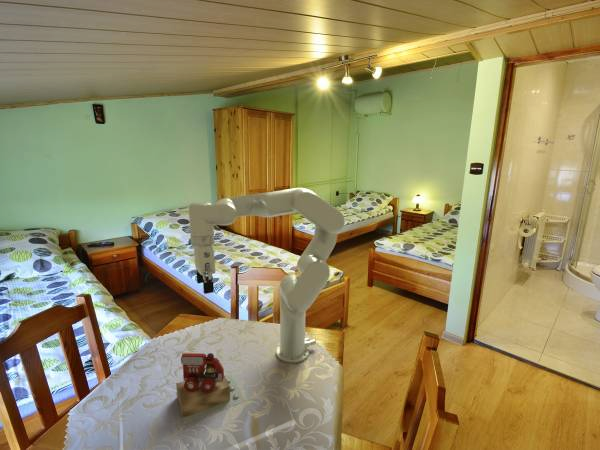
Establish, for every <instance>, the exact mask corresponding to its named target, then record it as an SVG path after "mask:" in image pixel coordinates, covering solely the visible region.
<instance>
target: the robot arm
mask: <svg viewBox="0 0 600 450" xmlns="http://www.w3.org/2000/svg"><path fill="white" fill-rule="evenodd" d="M296 213H298V214H299V215H300V216H302V217H303V218H305V219H306V220H307V221H309V222H310V223H312V225H314V226H315V229H314V235H313V236H312V239H311V240H310V242H309V244H307V246H306V248H305V250H304V251H303V252H302V254H301V255H300V257H299V258H298V260H297V263H296V268H297V270H298V272H299V274H300V275H297V274H293V273H290V274H287V275H285V276H284V277H283V278H281V280H280V282H279V286H278V294H279V295H278V296H279V309H280V310H279V311H280V312H279V316H280V317H279V326H280V327H279V329H280V330H279V331H280V332H279V336H280V338H279V339H280V340H279V346H277V348H276V350H275V353H276V354H275V355H276V357H277V358H278V359H279V360H280V361H282V362H284V363H288V364H297V363H301V362H303V361H305V360H307V358H308V357H309V353H310V351H309V347H310V346H314V345H316V340H315V339H311V340H310V338H309V337H306V317H307V316H306V315H307V314H306V313H307V310H308V309H309V308H311V306H312V305H313V304H314V302H315V301H316V299H317V298H318V296H319V295H320V294H321V292H323V289H324V287H325V286H326V285H327V283H328V281H329V280H330V279H329V277H330V274H331V273H330V272H331V271H330V267H329V264H328V263H327V260H328V258H329V257H330V255H331V253H332V251H333V250H334V248H335V246H336V243H337V240H338V232H340V231H342V229H343V228H344V226H345V222H346V221H345V217H344V214H343V213H342V211H341V210H339V209H338V208H336V207H335V206H333V205H332V204H330V203H329V202H327V200H325V199H323V197H321V196H319V195H317V194H316V193H315V192H314V191H312V190H310V189H308V188H305V187H295V188H294V187H293V188H288V189H282V190H275V191H269V192H262V193H253V194H245V195H237V196H231V197H226V198H225V197H224V198H221V199H219V200H217V201H216V203H211V202H208V201H194V202H191V203H190V204H189V206H188V217H189V218H188V219H189V220H188V221H189V233H190V234H189V235H190V236H189V237H190V245H191V246H192V247H193V248H194V249H193V250H194V251H193V254H194V266H195V269H196V283H197V284H202V285H203V287H202V288H203V293H204V295H207V294H212V293H214V292H215V289H214V286H215V285H214V276H213V274H216V272H217V271H216V260H215V252H214V246H213V245H215V225H216V226H230V225H232V224H234V223H235V221H236V220H237V218H240V217H241V218H242V217H248V216H253V217H254V216H257V217H260V218H275V217H278V216H279V217H280V216H285V215H290V214H296Z"/></svg>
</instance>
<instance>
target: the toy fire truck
mask: <svg viewBox="0 0 600 450" xmlns="http://www.w3.org/2000/svg"><path fill="white" fill-rule="evenodd" d="M180 364H182V374H183V376H182V377H183V381H185V383H184V388H185V390H187V391H188V392H194V391H196V390H197V388H198V385H199V382H202V384H201V388H202V390H203V391H205V392H212V391H213V390H214V389H215V386H216V383H215V382H222V381H223V378H224V376H225V369H224V367H223V365H222V364H221V362H220V360H219V359H218V358H217V357H215V355H214V353H212V352H210V353H208V354H207V355H206V354H205V353H195V352H194V353H193V352H191V353H188V352H184V353H183V354H181V357H180Z"/></svg>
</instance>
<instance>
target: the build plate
mask: <svg viewBox="0 0 600 450" xmlns="http://www.w3.org/2000/svg"><path fill="white" fill-rule="evenodd" d="M224 376H225V378H226V380H227V382H228V384H229V386H230V401H227V402H224V403H222V404H219V405H216V406H214V407H211V408H208V409H205V410H203V411H200V412H197V413H195V414H192V415H189V416H186V417H184V418H183V417H182V421H183V424H184V425H186V424H189V423H191V422H195V421H196V420H200V419H202V418H205V417H208V416H210V415H212V414H215V413H218V412H221V411H223V410H226V409H228V408H232V407H234V406H236V405H239V404H242V403H244V402H246V400H245V397H244V396H243V394H242V391H241V390H240V388H239V386H238V384H237V382H236V380H235V379H234V377H233V375H232V374H228V375H224ZM175 395H176V396H177V391H176V392H175Z"/></svg>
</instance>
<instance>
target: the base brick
mask: <svg viewBox="0 0 600 450" xmlns="http://www.w3.org/2000/svg"><path fill="white" fill-rule="evenodd" d="M225 376H226V375H224V378H223V381H222V382H215V383H216V386H215V389H214V390H213V391H212V392H205V391H203V390H202V388H201V384H202V382H199V385H198V388H197V390H196V391H194V392H188V391H187V390H185V388H184V383H185V381H184V380H183V381H180V382H176V383H175V386H176V392H177V395H176V398H177V401H178V402H177V403H178V405H179V409H180V414H181V416H182V417H181V418H182V419H183V418H184V417H186V416H189V415H192V414H195V413H197V412H200V411H203V410H205V409H208V408H211V407H214V406H216V405H219V404H222V403H224V402H227V401H230V386H229V384H228V382H227V380H226V378H225Z"/></svg>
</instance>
